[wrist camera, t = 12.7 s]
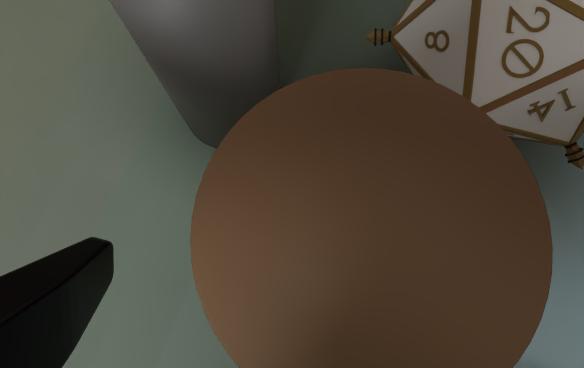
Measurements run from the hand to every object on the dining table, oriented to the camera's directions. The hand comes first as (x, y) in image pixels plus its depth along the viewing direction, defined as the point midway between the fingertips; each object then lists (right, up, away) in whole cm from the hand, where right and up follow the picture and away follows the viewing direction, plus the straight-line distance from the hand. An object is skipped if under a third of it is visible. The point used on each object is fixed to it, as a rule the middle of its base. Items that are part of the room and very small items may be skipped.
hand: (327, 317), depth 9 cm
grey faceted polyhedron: (+7, +7, +10) cm, 14 cm away
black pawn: (-3, +6, +10) cm, 12 cm away
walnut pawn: (0, -1, +8) cm, 8 cm away
